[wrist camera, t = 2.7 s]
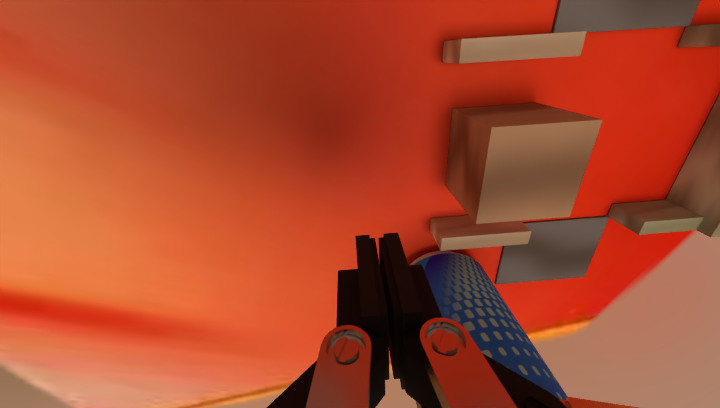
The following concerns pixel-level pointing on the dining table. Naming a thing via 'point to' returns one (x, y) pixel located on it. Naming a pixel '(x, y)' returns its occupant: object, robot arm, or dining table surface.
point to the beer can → (484, 315)
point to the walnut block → (518, 160)
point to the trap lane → (581, 235)
